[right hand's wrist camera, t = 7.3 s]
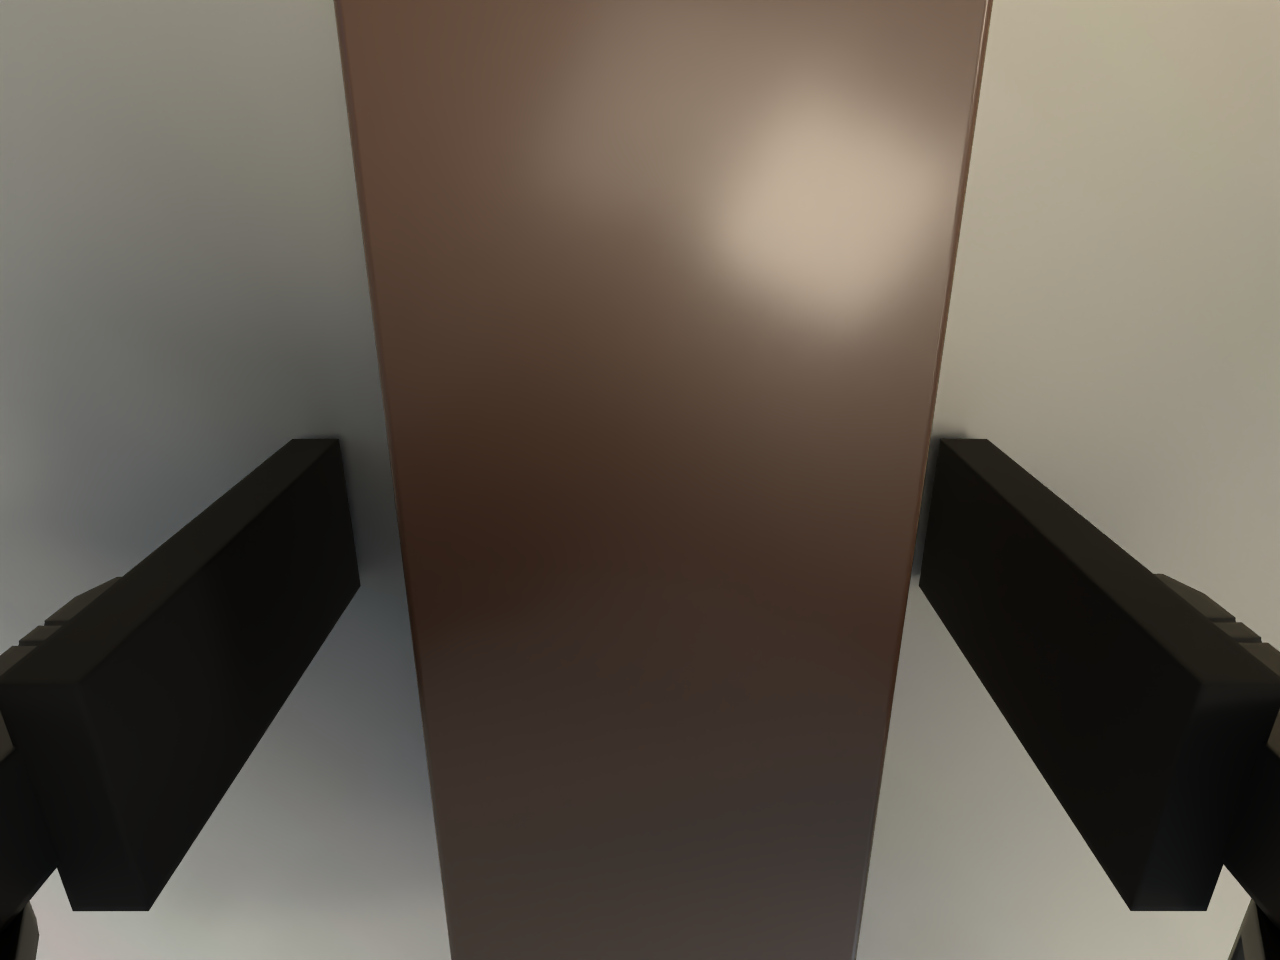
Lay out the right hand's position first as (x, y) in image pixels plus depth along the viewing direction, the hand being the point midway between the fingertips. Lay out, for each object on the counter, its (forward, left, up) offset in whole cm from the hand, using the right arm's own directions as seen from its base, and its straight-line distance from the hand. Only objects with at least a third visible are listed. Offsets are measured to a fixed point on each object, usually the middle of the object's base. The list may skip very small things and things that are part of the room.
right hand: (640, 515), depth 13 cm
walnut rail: (0, -11, 0) cm, 11 cm away
